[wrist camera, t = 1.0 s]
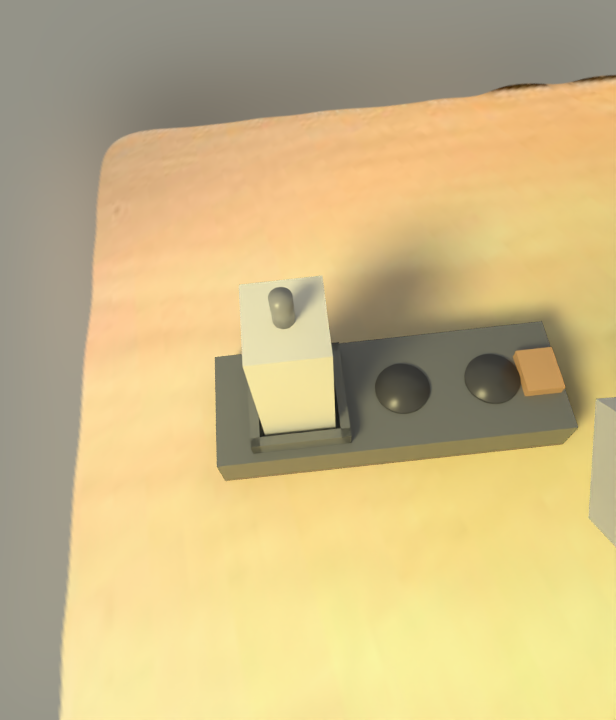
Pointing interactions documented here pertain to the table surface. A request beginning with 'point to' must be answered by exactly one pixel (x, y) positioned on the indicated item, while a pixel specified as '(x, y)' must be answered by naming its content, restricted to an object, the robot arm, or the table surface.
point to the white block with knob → (288, 354)
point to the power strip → (407, 403)
